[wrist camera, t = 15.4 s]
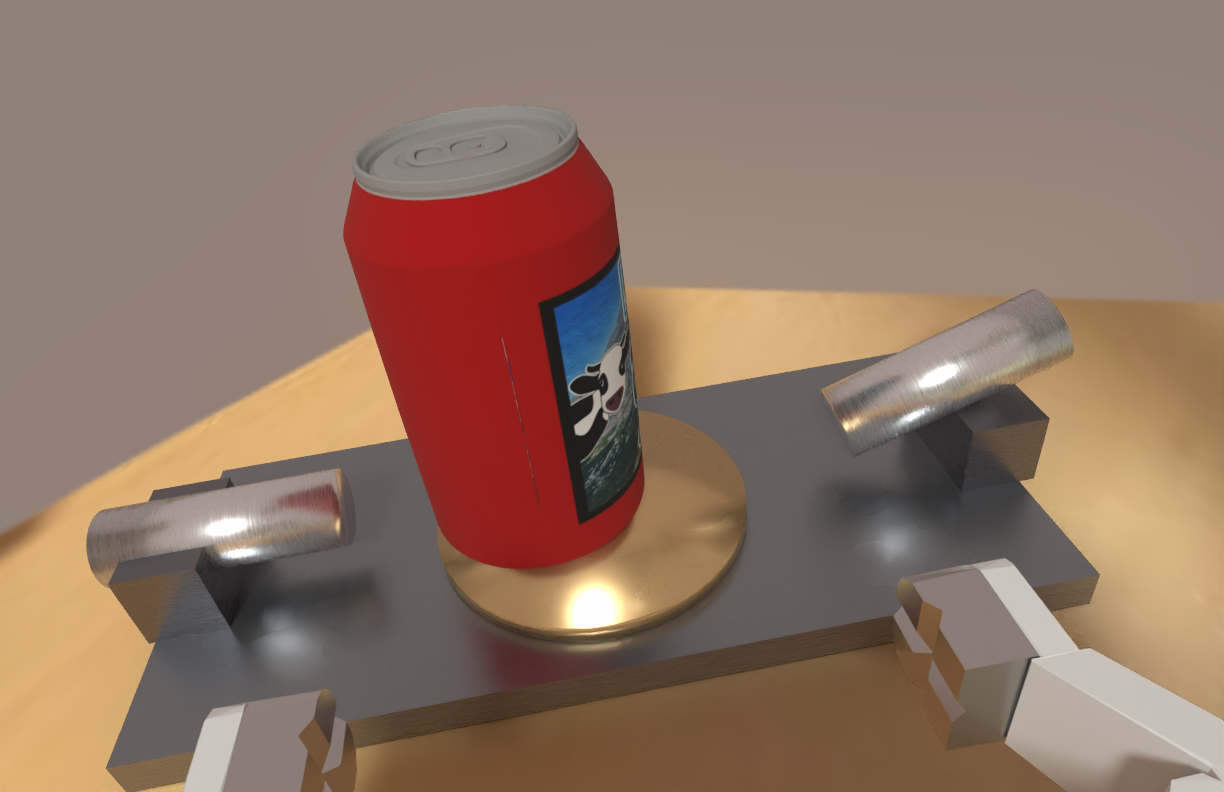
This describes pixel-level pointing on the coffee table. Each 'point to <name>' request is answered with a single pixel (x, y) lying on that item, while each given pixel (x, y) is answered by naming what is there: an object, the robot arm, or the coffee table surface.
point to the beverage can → (502, 328)
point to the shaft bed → (595, 552)
